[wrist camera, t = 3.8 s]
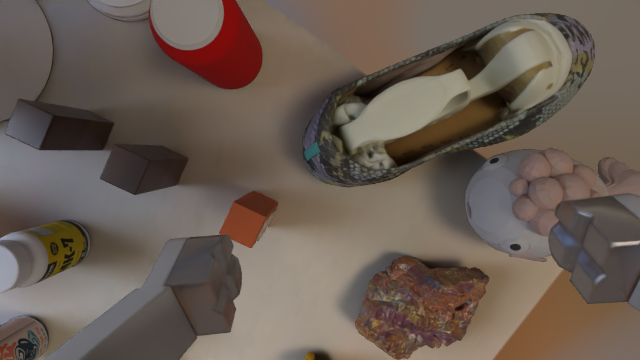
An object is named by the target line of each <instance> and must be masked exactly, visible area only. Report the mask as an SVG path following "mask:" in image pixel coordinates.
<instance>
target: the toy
mask: <svg viewBox="0 0 640 360" xmlns="http://www.w3.org/2000/svg"><path fill="white" fill-rule="evenodd" d="M598 173H599V175H600V176H598V175H597V174H596V173H595V172H594V171H593V170H592V169H591V168H589V167H588V166H585V165H583V164H581V163H580V162H578V161H576V160H573V159H571V157H570V156H569V155H568V154H567V153H565V152H564V151H561V150H557V149H553V148H549V149H546V150H543V151H542V150H534V149H523V150H515V151H510V152H507V153H502V154H498V155H495V156H493V157H491V158H490V159H489V160H488V161H486V162H485V164H484V165H483V166H481V167H480V168H479V169H478V170H477V171H476V173H475V174H474V176H473V177H472V179H471V180H470V182H469V184H468V187H467V190H466V195H465V208H466V213H467V217H468V220H469V222H470V224H471V226H472V227H473V229H474V230H475V231H476V232H477V234H479V235H480V236H481V237H482V238H483V239H484V240H485V241H486V242H487V243H488V244H489V245H490V246H491V247H493V248H495V249H497V250H499V251H502V252H505V253H508V254H510V255H509V256H510V257H519V258H524V259H529V260H534V261H541V262H545V261H547V259H546V258H545V257H546V256H550V255H552V254H551V252H550V249H549V242H548V237H549V233H550V229H551V228H552V227H553V226H554V225H555V224H556V223H557V222H558V221H559V220H558V219H557V217H556V216H555V215H554V214H555V211H556V207H557V205H558V204H559V203H560V202H561V201H565V200H575V199H584V198H594V197H604V196H607V195H616V194H624V193H632V194H635V195H638V196H639V197H640V172H638V171H635V170H631V169H629V168H628V167H627V166H626V165H625V164H624V163H621V162H619V161H617V160H616V159H614V158H610V157H606V158H603V159H602V160H600V161H599V164H598Z"/></svg>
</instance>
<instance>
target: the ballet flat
mask: <svg viewBox="0 0 640 360" xmlns="http://www.w3.org/2000/svg"><path fill="white" fill-rule="evenodd" d="M594 58H595V46H594V41H593V39H592V36H591V34H590V33H589V32H588V30H587V29H586V28H585V27H584V26H583V25H582V24H581V23H580V22H578V21H577V20H575V19H572V18H570V17H568V16H565V15H560V14H551V13H536V14H526V15H516V16H512V17H509V18H505V19H503V20H501V21H497V22H495V23H493V24H490V25H488V26H486V27H484V28H481V29H479V30H477V31H475V32H473V33H471V34H468V35H465V36H463V37H461V38H459V39H456V40H454V41H451V42H449V43H446V44H443V45H441V46H439V47H436V48H433V49H431V50H428V51H426V52H424V53H421V54H418V55H416V56H413V57H411V58H409V59H406V60H404V61H402V62H399V63H397V64H394V65H392V66H389V67H387V68H385V69H382V70H380V71H378V72H375V73H373V74H371V75H368V76H366V77H363V78H361V79H358V80H356V81H354V82H352V83H349V84H347V85H345V86H343V87H341V88H338V89H336V90H335V91H333V92H332V93H331V94H330V95H329V96H328V97H327V98H326V99H325V100H324V102H323V103H322V105H321V106H320V108H319V109H318V111H317V113H316V114H315V115H314V116H313V118H312V119H311V120H310V122H309V124H308V126H307V128H306V130H305V133H304V136H303V140H302V153H303V158H304V162H305V164H306V165H307V167H308V169H309V170H310V171H311V173H312V174H313V175H314V176H315V177H316V178H318V179H319V180H320V181H322V182H324V183H326V184H329V185H335V186H341V187H353V186H363V185H368V184H375V183H379V182H384V181H387V180H391V179H393V178H395V177H397V176H399V175H401V174H403V173H405V172H406V171H408V170H410V169H411V168H413V167H416V166H418V165H421V164H423V163H424V162H426V161H429V160H431V159H433V158H434V157H437V156H442V155H447V154H451V153H456V152H461V151H465V150H468V149H474V148H479V147H486V146H488V145H493V144H497V143H500V142H503V141H507V140H510V139H514V138H516V137H519V136H521V135H523V134H525V133H527V132H529V131H531V130H532V129H534V128H536V127H537V126H539V125H541V124H542V123H544V122H545V121H547V120H548V119H549V118H551V117H552V116H553V115H554V114H555V113H556V112H558V111H559V110H560V109H562V108H563V107H564V106H565V105H566V104H567V103H568V102H569V101H570V100H571V99H572V98H573V97H574V95H575V94H576V93H577V92H578V91H579V89H580V88H581V86H582V85H583V83H584V82H585V81H586V79H587V77H588V76H589V74H590V72H591V70H592V67H593V63H594Z"/></svg>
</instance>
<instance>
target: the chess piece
mask: <svg viewBox="0 0 640 360" xmlns="http://www.w3.org/2000/svg"><path fill="white" fill-rule="evenodd" d="M87 1H88V2H89V3H90V4H91V5H92V6H93V7H94V8H95V9H97V10H98V11H100V12H101V13H103V14H104V15H106V16H108V17H110V18H113V19H116V20H120V21H128V22H132V21H140V20H144V19H147V18H149V7H150V2H151V0H87Z"/></svg>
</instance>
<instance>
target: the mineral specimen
mask: <svg viewBox="0 0 640 360" xmlns="http://www.w3.org/2000/svg"><path fill="white" fill-rule="evenodd" d="M488 281H489V277H488V276H487V275H485V274H484V273H483V272H482V271H481V270H480V269H478V268H474V267H473V268H470V269H469V268H467V267H466V266H465V267H457V268H456V267H453V268H448V269H445V268H444V269H442V268H434V269H429V268H427V267H426V266H425V265H424V264H423V263H421V261H419V260H418V259H417V258H415V257H408V256H404V257H400V258H398V260H393V261H392V265H391V266H388V267H386V271H385V272H384V271H383V272H382V271H381V272H379V273H376V274H375V276H373V279H372V280H371V281H369V283H368V287H367V290H366V293H367V294H366V298H364V300H363V302H362V308H361V309H360V313H359V316H358V318H357V319H356V320H355V327H356V328H357V330H358V332H359V333H360V334H361V335H362V336H364V337H365V338H366V339H367V340H369V341H370V342H373V343H374V344H375V345H376V346H377V347H379V348H380V349H382V350H383V351H384V352H386V353H387V354H388V355H390V356H392V357H393V358H394V359H397V360H400V359H402V358H406V359H408V358H409V357H410V355H411V354H412V352H413V351H415V350H417V349H418V347H422V346H424V345H428V346H429V347H431V348H434V347H435V346H436V347H437V348H439V347H440V346H441V342H442V343H443V344H444V345H445V346H448V345H450V344H451V343H453V342H455V341H457V340H459V341H461V339H462V338H463V337H464V335H465V334H466V329H467V327H468V325H469V324H470V321H471V318H472V316H473V315H474V313H475V310H476V308H477V306H478V300H479V299H481V298H482V297H483V296H484V294H485V293H486V291H485V286H486V284H487V283H488Z"/></svg>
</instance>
